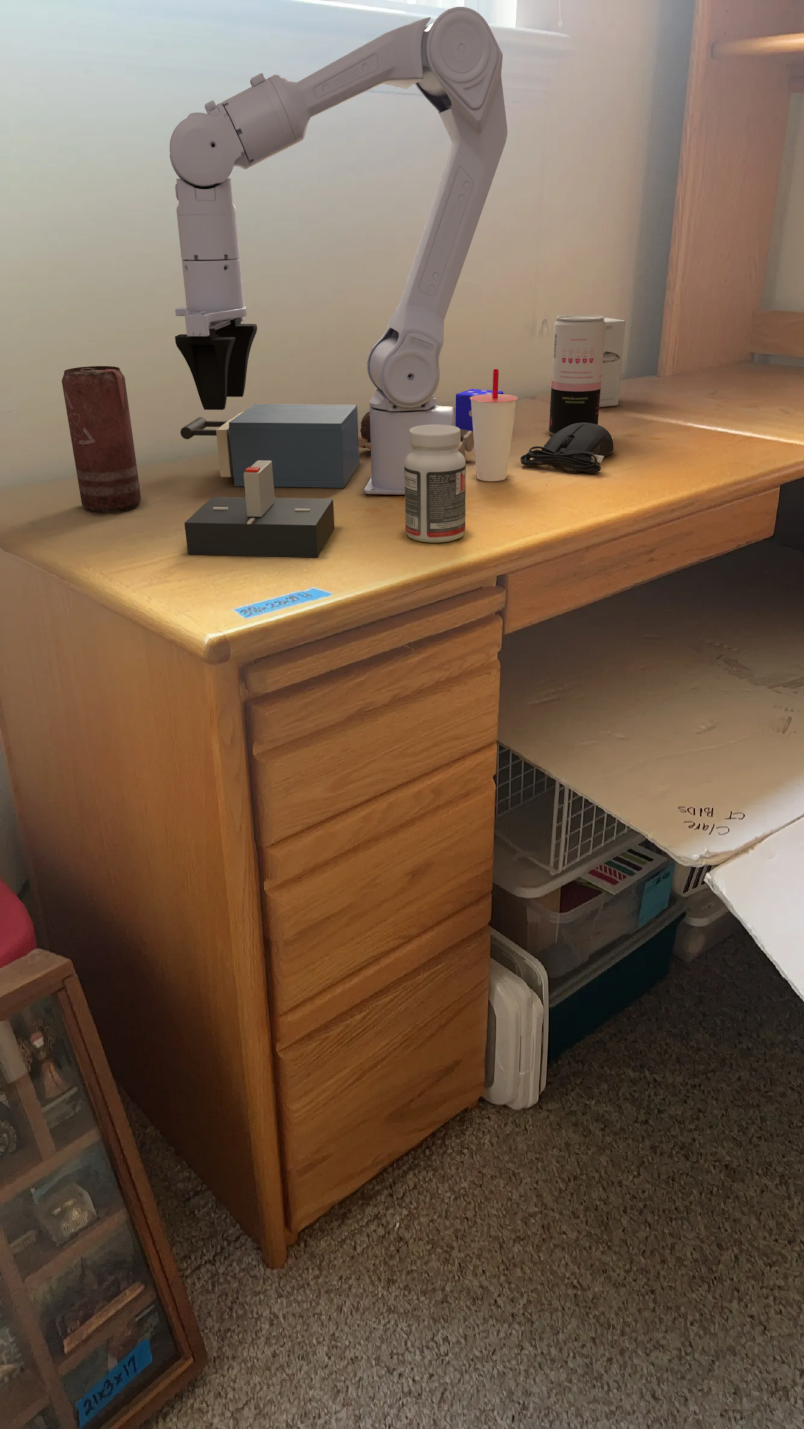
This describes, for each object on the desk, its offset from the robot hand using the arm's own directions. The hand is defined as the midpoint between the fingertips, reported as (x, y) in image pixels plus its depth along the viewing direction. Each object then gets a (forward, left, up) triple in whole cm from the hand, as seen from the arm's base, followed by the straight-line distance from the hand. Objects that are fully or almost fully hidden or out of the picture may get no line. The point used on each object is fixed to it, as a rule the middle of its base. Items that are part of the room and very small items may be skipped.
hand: (224, 402), depth 103 cm
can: (+12, +4, -10) cm, 16 cm away
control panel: (-7, +15, -10) cm, 20 cm away
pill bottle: (-23, +12, -10) cm, 28 cm away
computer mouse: (-38, -21, -10) cm, 45 cm away
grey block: (-7, +15, -7) cm, 18 cm away
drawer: (-1, -11, -9) cm, 14 cm away
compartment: (-5, -11, -10) cm, 15 cm away
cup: (-28, -11, -10) cm, 31 cm away
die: (-25, -39, -10) cm, 47 cm away
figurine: (-18, -23, -10) cm, 31 cm away
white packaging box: (-41, -59, -10) cm, 72 cm away
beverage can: (-38, -36, -10) cm, 53 cm away
